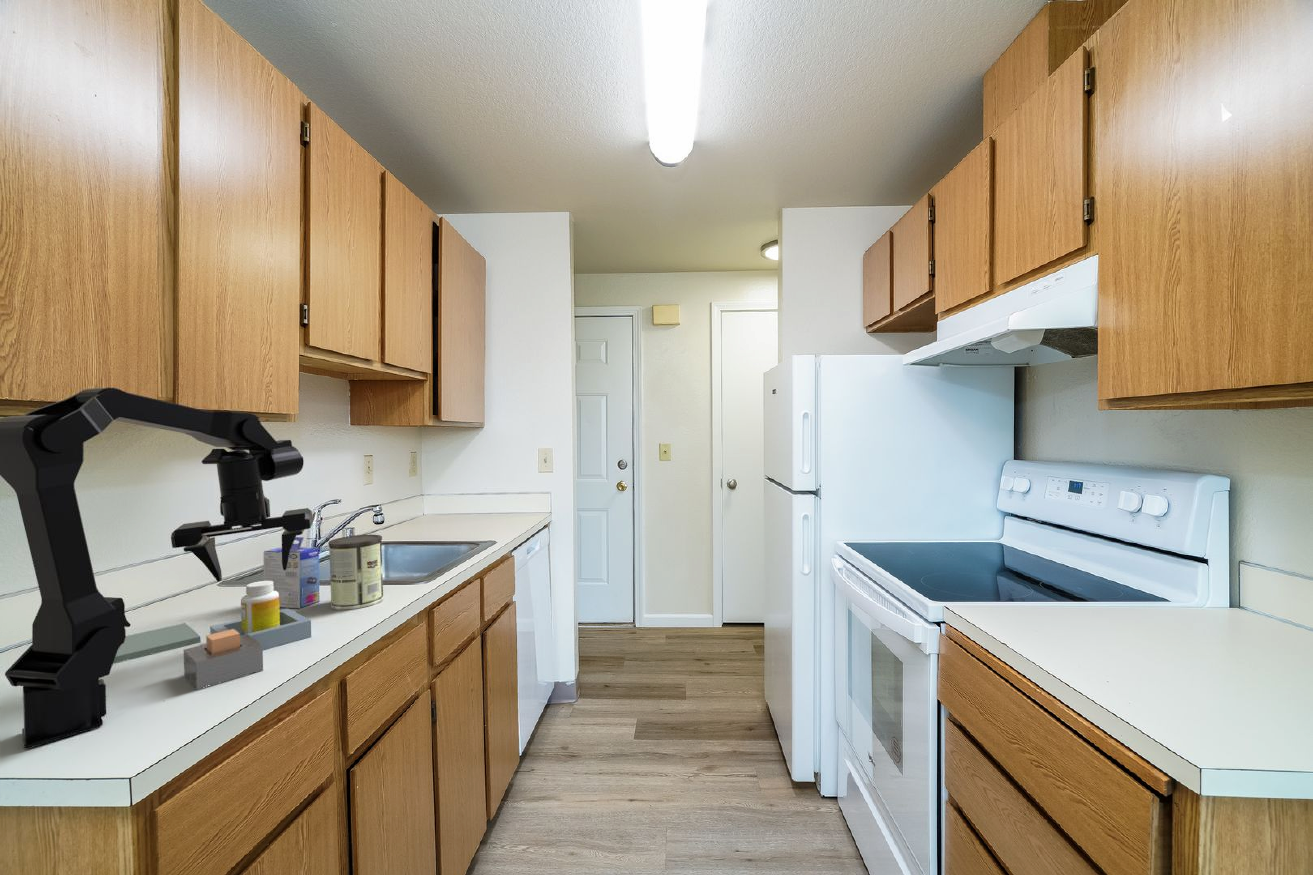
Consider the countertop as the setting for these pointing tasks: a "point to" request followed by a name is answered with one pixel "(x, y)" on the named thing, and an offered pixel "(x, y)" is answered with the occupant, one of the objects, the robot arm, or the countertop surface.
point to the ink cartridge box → (294, 575)
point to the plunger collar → (222, 662)
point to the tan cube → (222, 641)
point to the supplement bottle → (259, 607)
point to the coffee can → (356, 571)
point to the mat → (156, 641)
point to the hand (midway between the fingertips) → (253, 575)
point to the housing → (274, 629)
